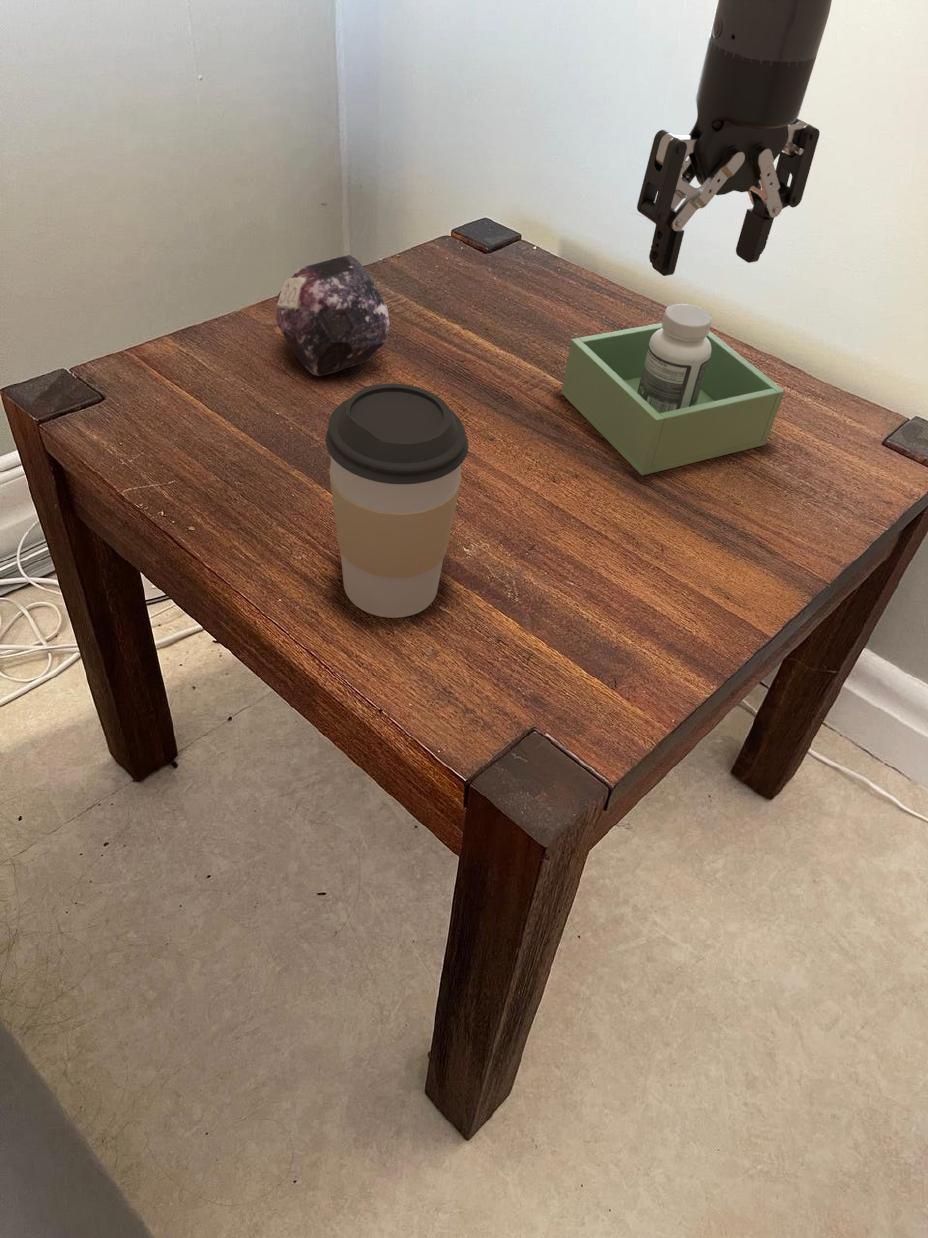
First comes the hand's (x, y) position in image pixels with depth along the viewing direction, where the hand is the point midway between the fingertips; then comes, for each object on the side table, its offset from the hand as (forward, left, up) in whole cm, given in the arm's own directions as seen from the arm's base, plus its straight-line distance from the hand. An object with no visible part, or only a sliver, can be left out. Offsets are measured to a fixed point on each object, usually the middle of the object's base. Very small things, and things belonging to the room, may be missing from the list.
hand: (704, 264), depth 79 cm
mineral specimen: (+31, -4, -15) cm, 35 cm away
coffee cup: (+22, +26, -15) cm, 37 cm away
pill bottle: (0, 0, -14) cm, 14 cm away
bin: (0, 0, -15) cm, 15 cm away
